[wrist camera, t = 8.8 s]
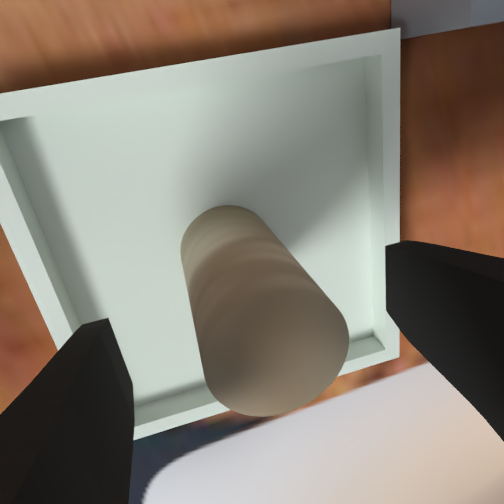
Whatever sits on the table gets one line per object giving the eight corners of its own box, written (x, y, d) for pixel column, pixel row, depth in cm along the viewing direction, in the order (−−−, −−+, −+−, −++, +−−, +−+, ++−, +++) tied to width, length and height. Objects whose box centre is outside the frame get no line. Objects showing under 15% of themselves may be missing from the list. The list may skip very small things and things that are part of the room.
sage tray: (371, 33, 13) (400, 27, 11) (378, 335, 18) (399, 357, 16) (-29, 100, 11) (-55, 102, 9) (106, 416, 16) (103, 449, 14)
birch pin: (265, 196, 13) (347, 273, 8) (276, 279, 15) (351, 393, 9) (170, 216, 13) (188, 312, 7) (190, 300, 14) (218, 433, 9)
